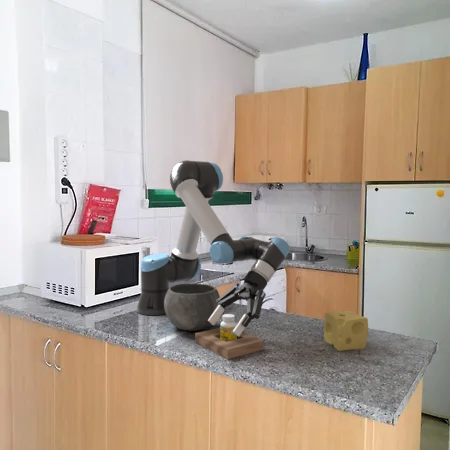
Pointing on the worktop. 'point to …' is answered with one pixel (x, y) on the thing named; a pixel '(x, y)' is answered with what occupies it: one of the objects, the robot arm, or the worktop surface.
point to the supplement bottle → (228, 328)
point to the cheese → (345, 330)
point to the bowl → (190, 305)
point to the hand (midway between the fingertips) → (222, 328)
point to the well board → (228, 343)
